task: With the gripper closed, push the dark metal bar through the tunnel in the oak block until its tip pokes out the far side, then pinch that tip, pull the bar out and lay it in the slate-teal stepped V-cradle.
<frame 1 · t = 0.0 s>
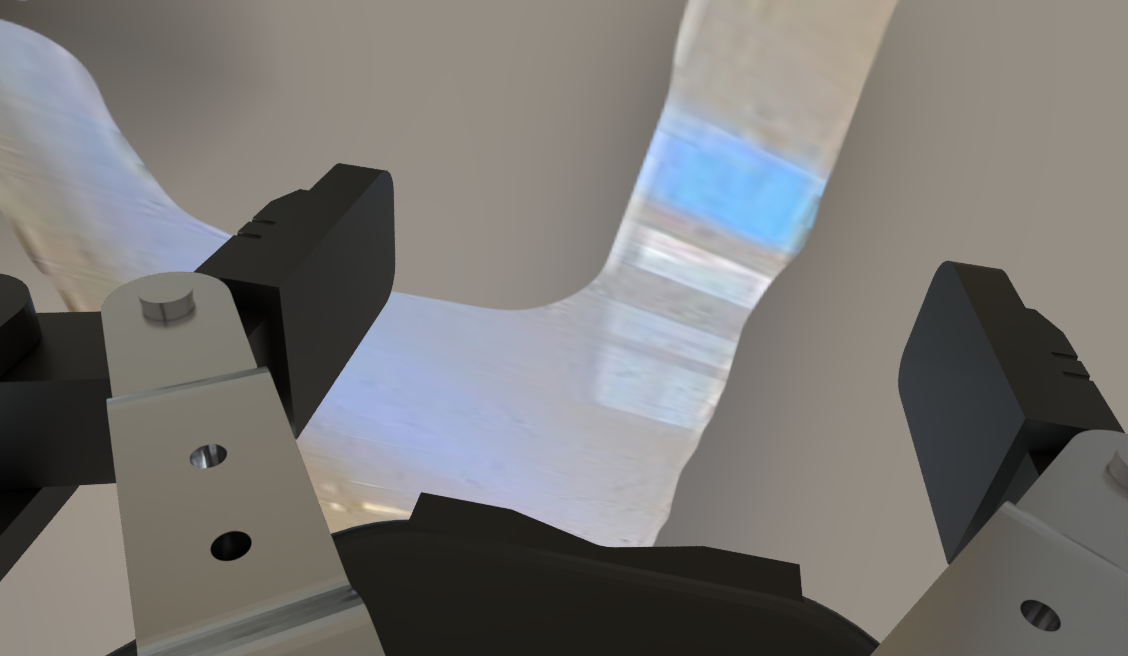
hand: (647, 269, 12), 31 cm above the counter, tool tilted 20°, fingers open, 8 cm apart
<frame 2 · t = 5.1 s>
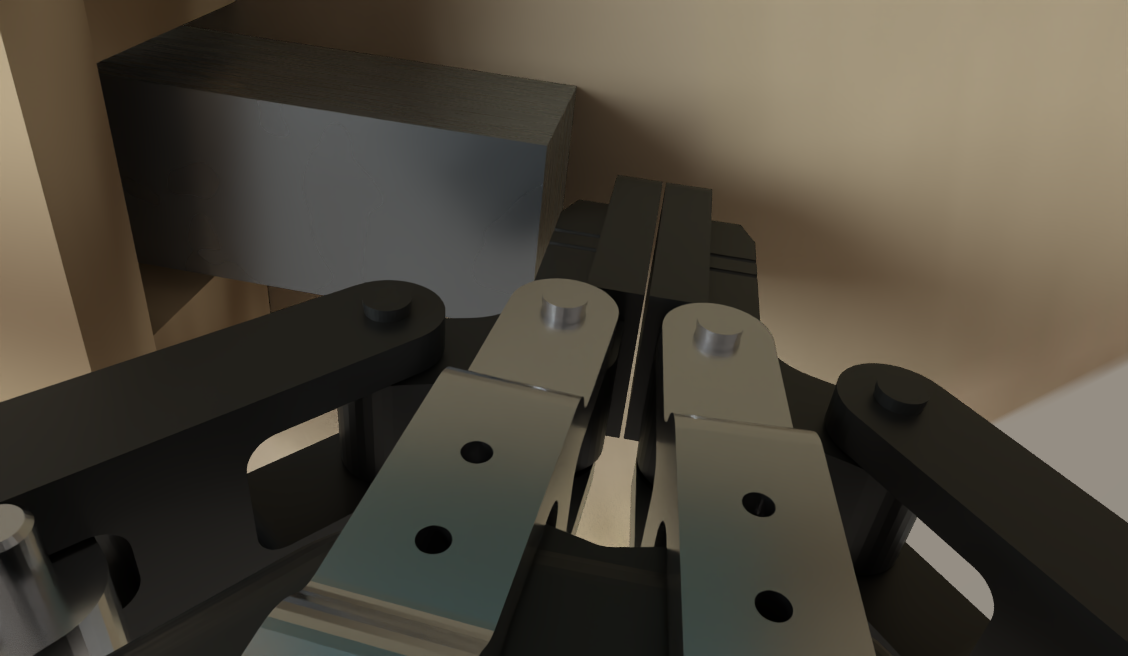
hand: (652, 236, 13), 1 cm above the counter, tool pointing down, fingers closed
metal bar: (239, 114, 15), on the counter, touching gripper
bore block: (115, 103, 15), on the counter
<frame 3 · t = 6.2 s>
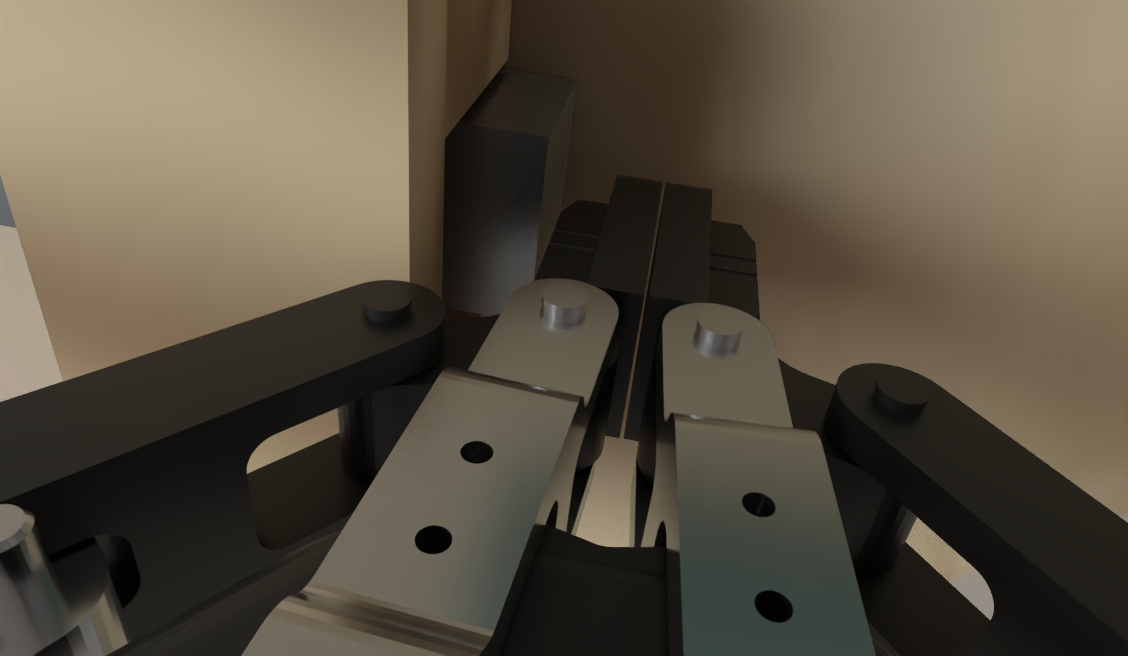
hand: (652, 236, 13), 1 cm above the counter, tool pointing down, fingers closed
metal bar: (240, 102, 15), on the counter
bore block: (361, 159, 14), on the counter
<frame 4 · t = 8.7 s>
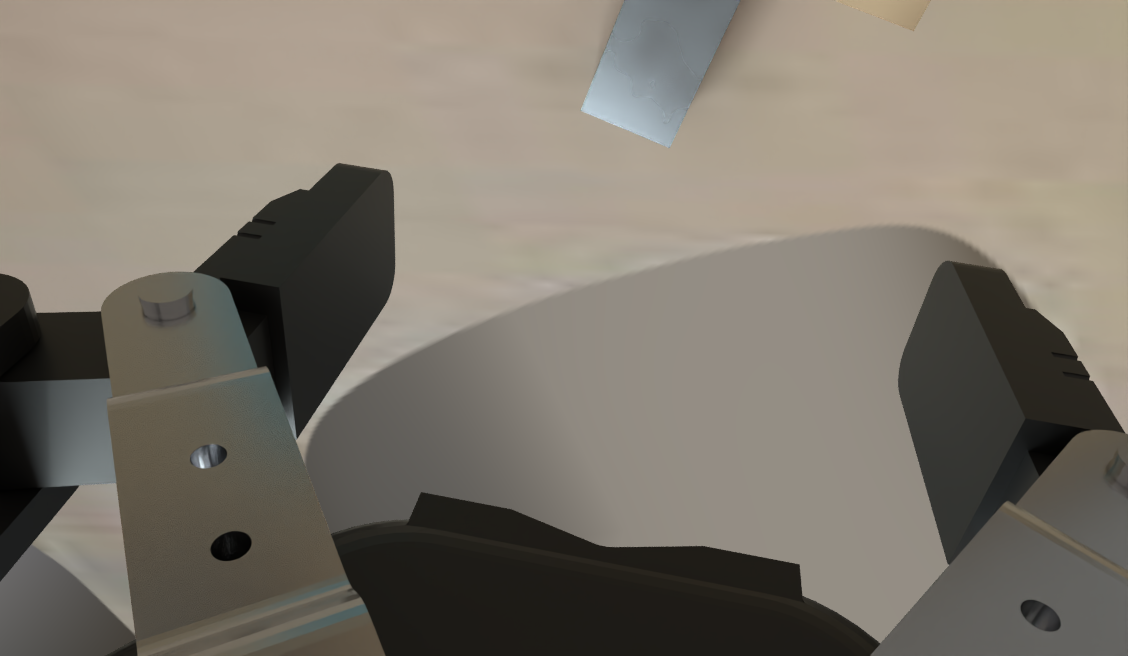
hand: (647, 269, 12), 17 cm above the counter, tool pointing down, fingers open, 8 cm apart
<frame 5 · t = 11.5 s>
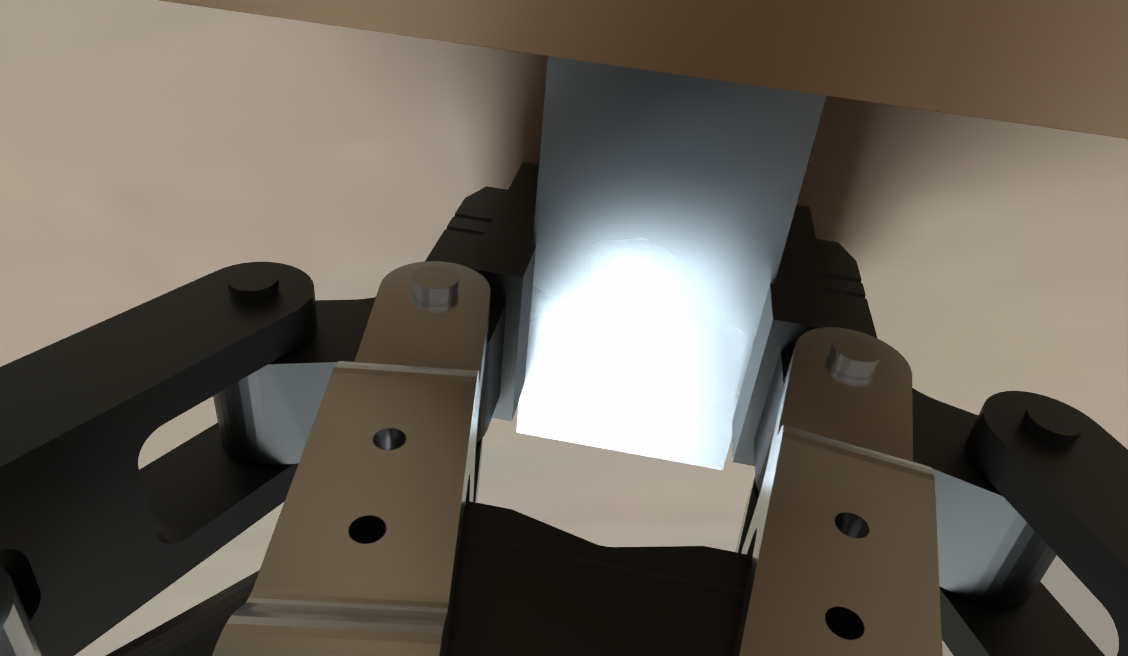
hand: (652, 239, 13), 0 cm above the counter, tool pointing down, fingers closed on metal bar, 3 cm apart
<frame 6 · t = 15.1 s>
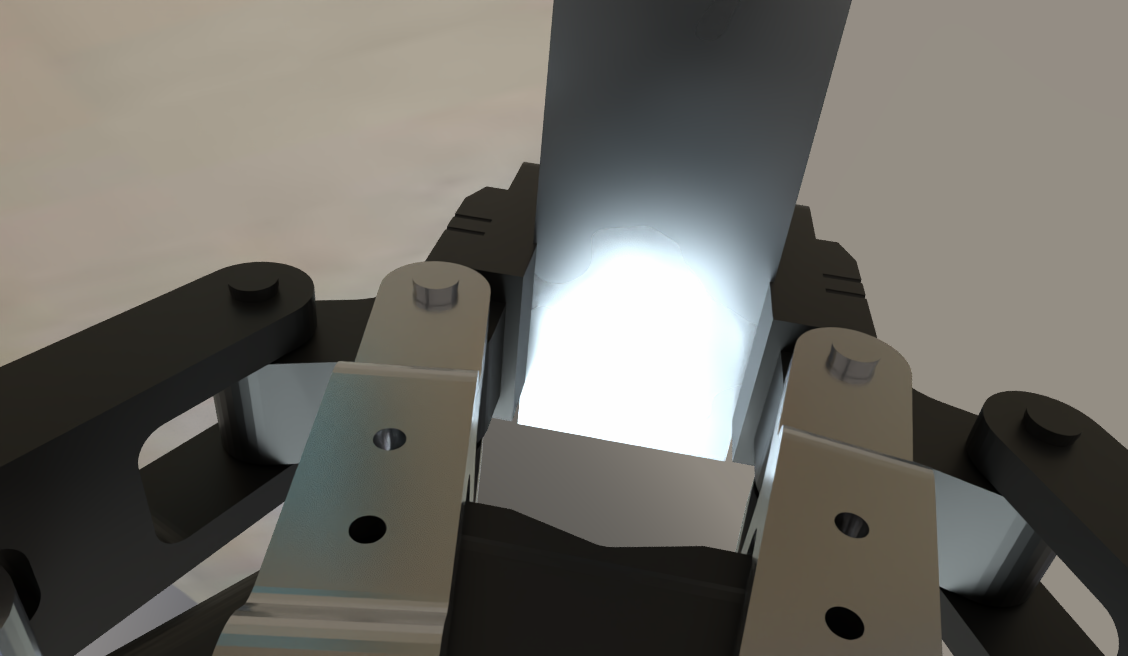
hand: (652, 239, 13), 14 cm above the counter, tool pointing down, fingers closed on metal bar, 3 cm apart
when the fingers open (5 cm above the counter, at t = 18.7 s): metal bar drops 2 cm, resting on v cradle.
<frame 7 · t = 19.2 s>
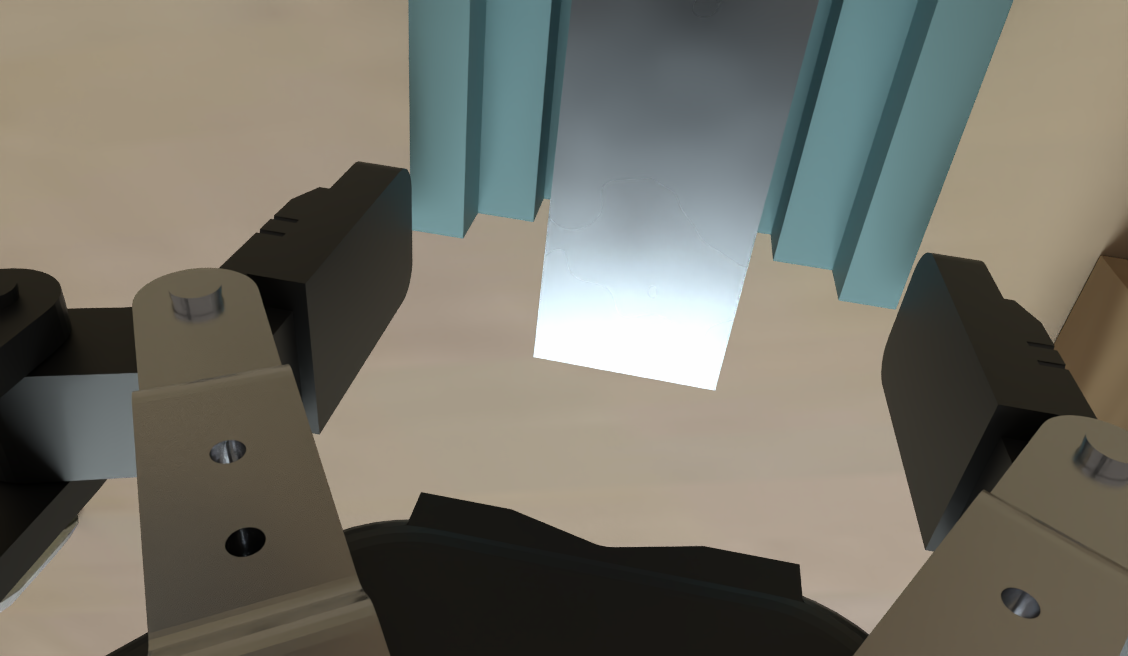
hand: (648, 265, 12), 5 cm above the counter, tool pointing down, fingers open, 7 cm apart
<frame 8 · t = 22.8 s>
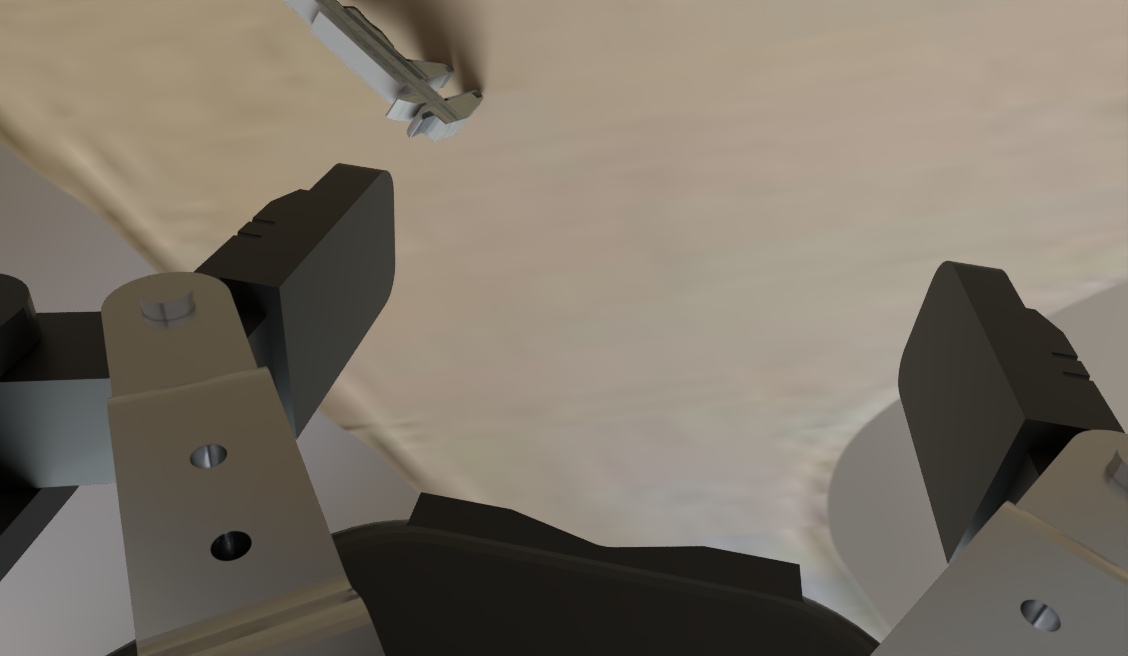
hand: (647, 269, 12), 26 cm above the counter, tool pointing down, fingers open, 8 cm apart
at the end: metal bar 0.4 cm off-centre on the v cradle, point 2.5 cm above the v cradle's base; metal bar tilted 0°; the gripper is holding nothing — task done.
